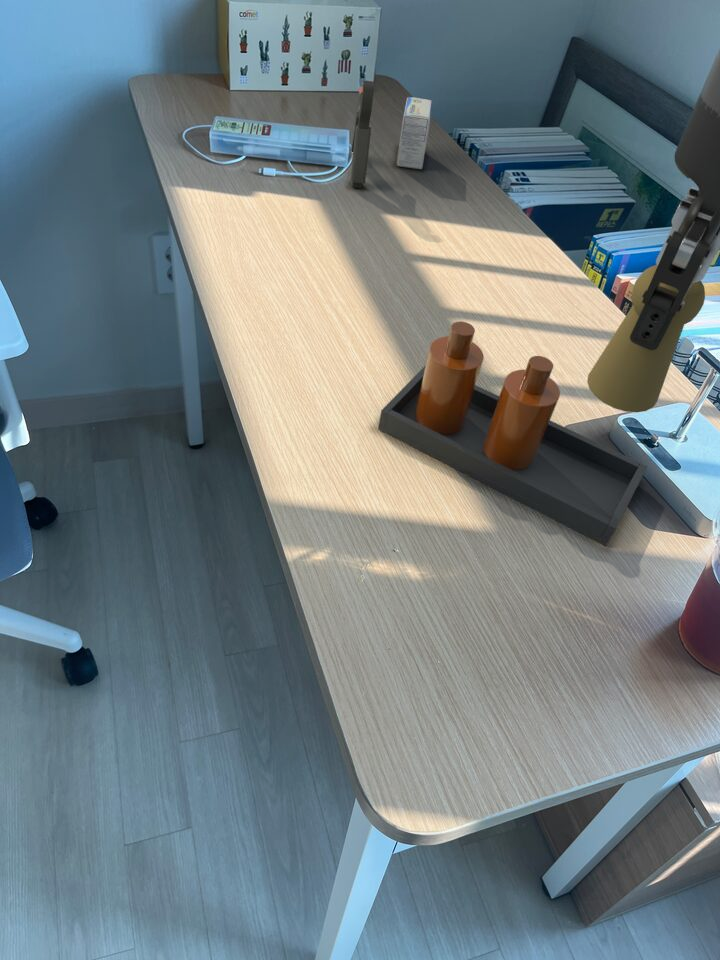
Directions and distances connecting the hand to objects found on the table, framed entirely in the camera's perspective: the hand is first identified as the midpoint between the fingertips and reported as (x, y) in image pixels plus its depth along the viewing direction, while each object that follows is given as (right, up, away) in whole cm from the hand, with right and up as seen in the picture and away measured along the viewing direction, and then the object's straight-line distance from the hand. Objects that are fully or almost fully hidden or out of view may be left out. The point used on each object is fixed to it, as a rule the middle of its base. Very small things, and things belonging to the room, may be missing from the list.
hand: (653, 325), depth 59 cm
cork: (-1, -4, +5) cm, 7 cm away
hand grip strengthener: (-24, +38, +65) cm, 79 cm away
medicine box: (-14, +43, +71) cm, 84 cm away
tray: (-7, -10, +23) cm, 26 cm away
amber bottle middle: (-7, -9, +22) cm, 25 cm away
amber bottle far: (-14, -5, +24) cm, 29 cm away
